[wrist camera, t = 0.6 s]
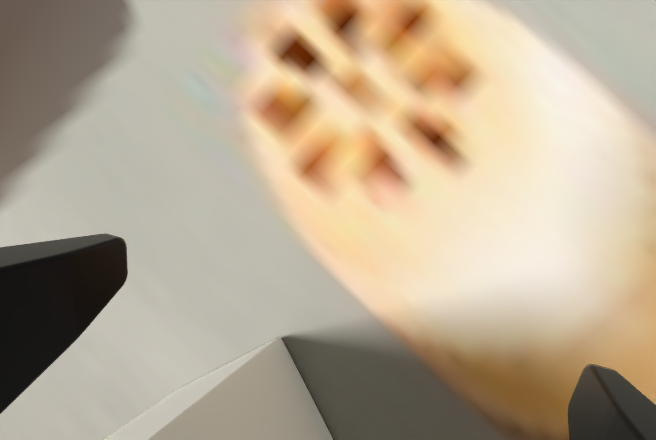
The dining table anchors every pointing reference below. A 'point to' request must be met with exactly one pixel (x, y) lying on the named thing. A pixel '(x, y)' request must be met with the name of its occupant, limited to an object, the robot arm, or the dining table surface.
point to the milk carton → (236, 404)
